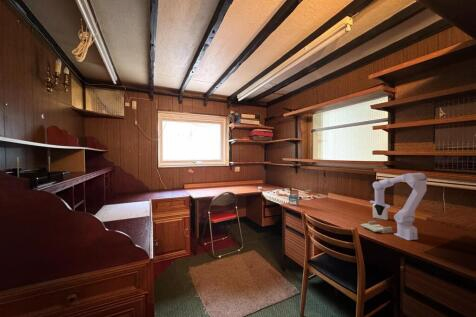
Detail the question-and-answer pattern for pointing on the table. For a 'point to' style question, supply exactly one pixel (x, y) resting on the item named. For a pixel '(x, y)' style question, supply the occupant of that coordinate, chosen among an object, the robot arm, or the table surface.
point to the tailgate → (371, 227)
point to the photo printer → (383, 216)
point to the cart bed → (380, 227)
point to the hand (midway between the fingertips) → (379, 214)
